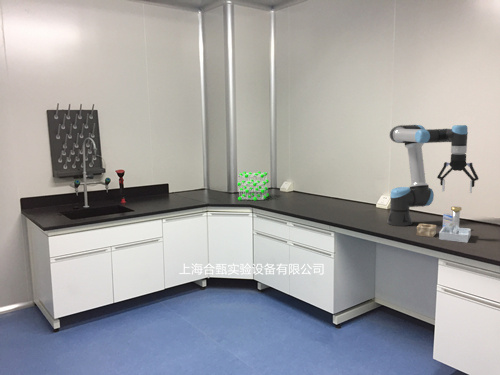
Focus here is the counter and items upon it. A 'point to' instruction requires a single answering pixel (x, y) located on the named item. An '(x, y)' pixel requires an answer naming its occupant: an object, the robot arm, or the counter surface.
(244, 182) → the molecular structure model
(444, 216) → the medicine box
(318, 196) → the counter surface
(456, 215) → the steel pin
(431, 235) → the holder block
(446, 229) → the tray
